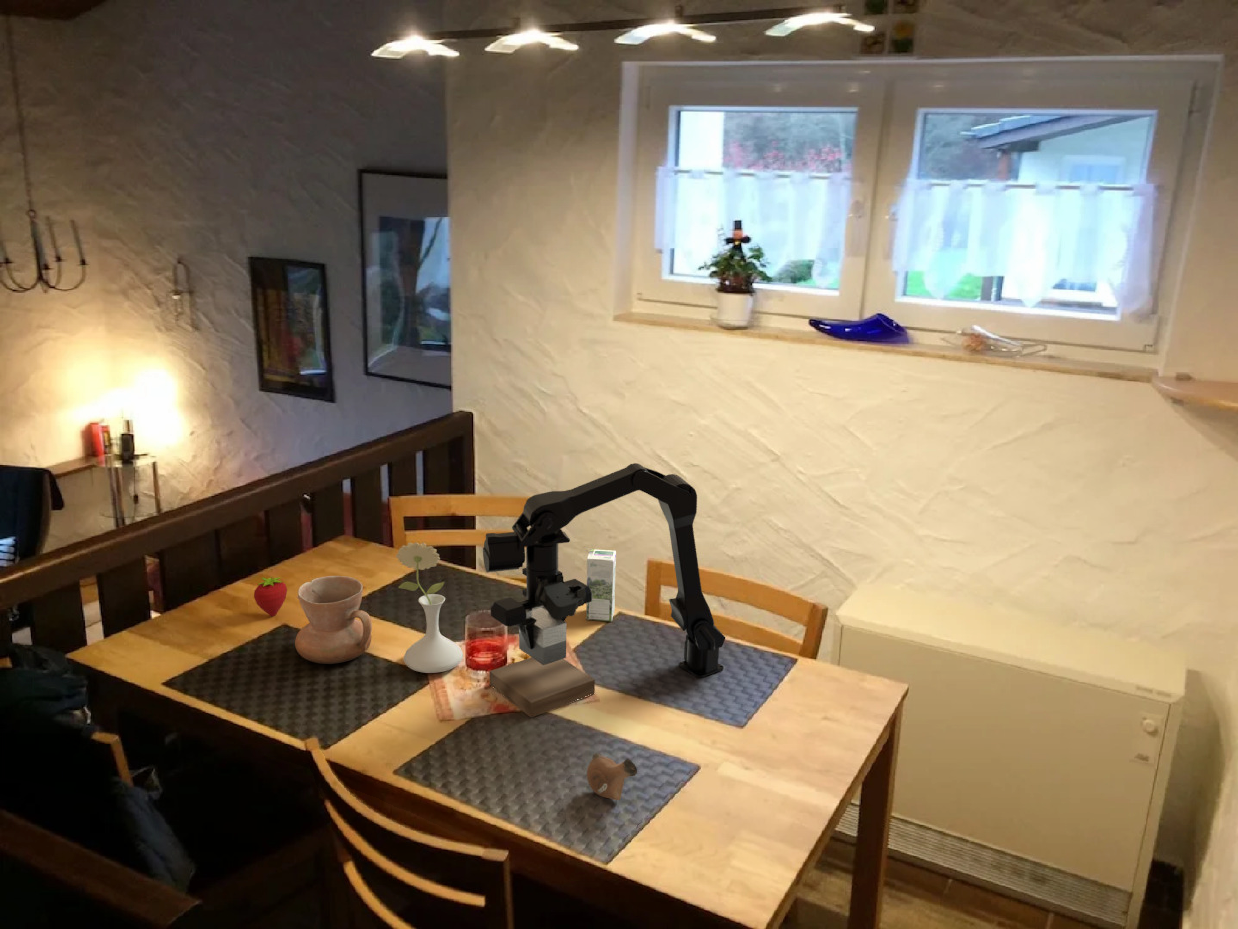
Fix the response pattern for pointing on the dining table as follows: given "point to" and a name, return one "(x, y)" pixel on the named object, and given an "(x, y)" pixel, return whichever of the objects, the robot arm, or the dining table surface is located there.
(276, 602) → the strawberry
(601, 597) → the syrup box
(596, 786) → the oil lamp
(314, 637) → the ceramic jug
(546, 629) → the housing
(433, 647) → the flower in vase
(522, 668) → the stand
